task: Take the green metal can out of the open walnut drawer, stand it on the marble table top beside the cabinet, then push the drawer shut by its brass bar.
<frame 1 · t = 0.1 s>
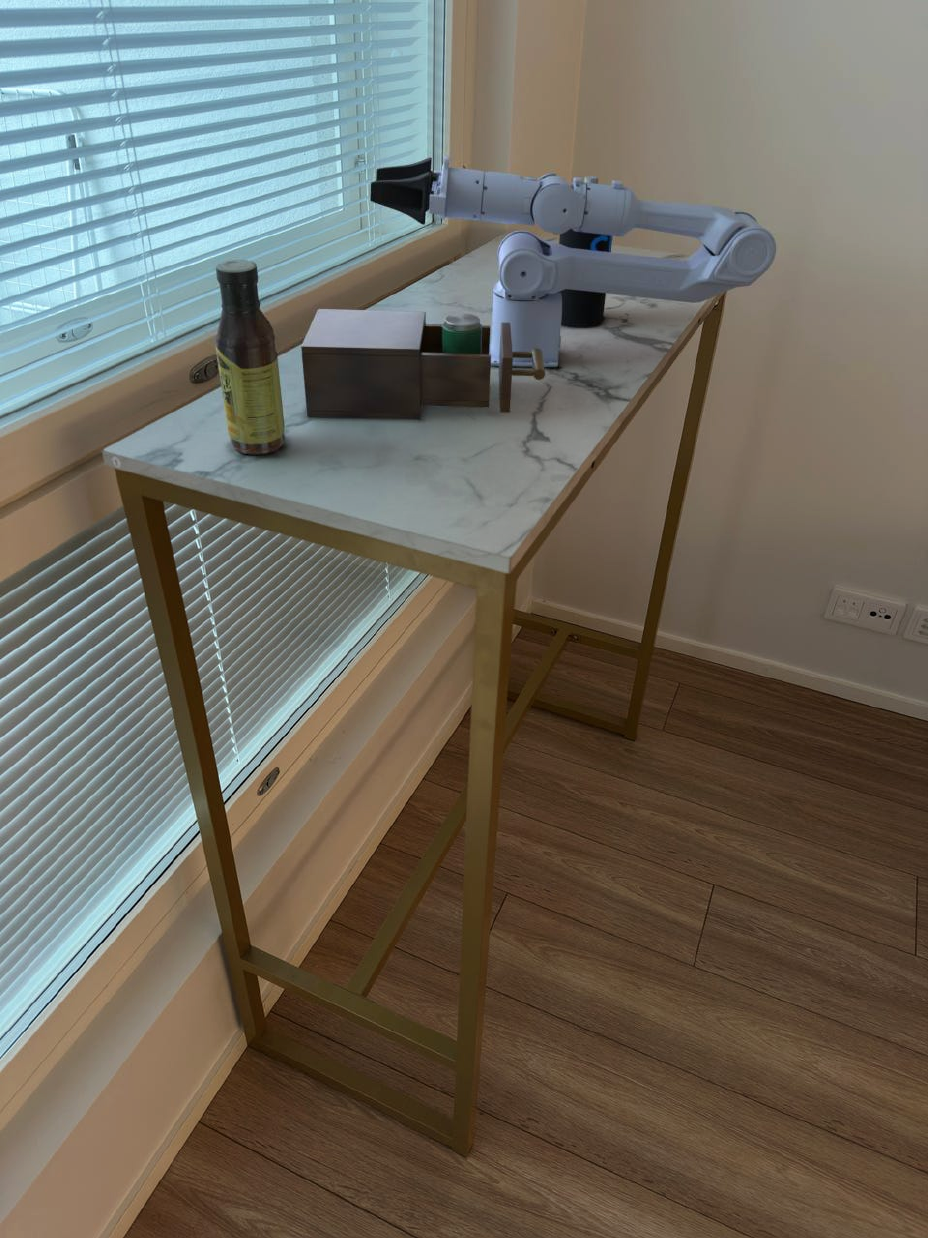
hand: (373, 184, 113), 22 cm above the table, tool horizontal, fingers open, 7 cm apart
aerosol can: (577, 320, 140), on the table
sauce bottle: (258, 447, 102), on the table
cabinet: (369, 395, 114), on the table
drawer: (476, 365, 111), point 4 cm above the table, slide at 9.5 cm, touching can
can: (461, 383, 113), point 2 cm above the table, touching drawer
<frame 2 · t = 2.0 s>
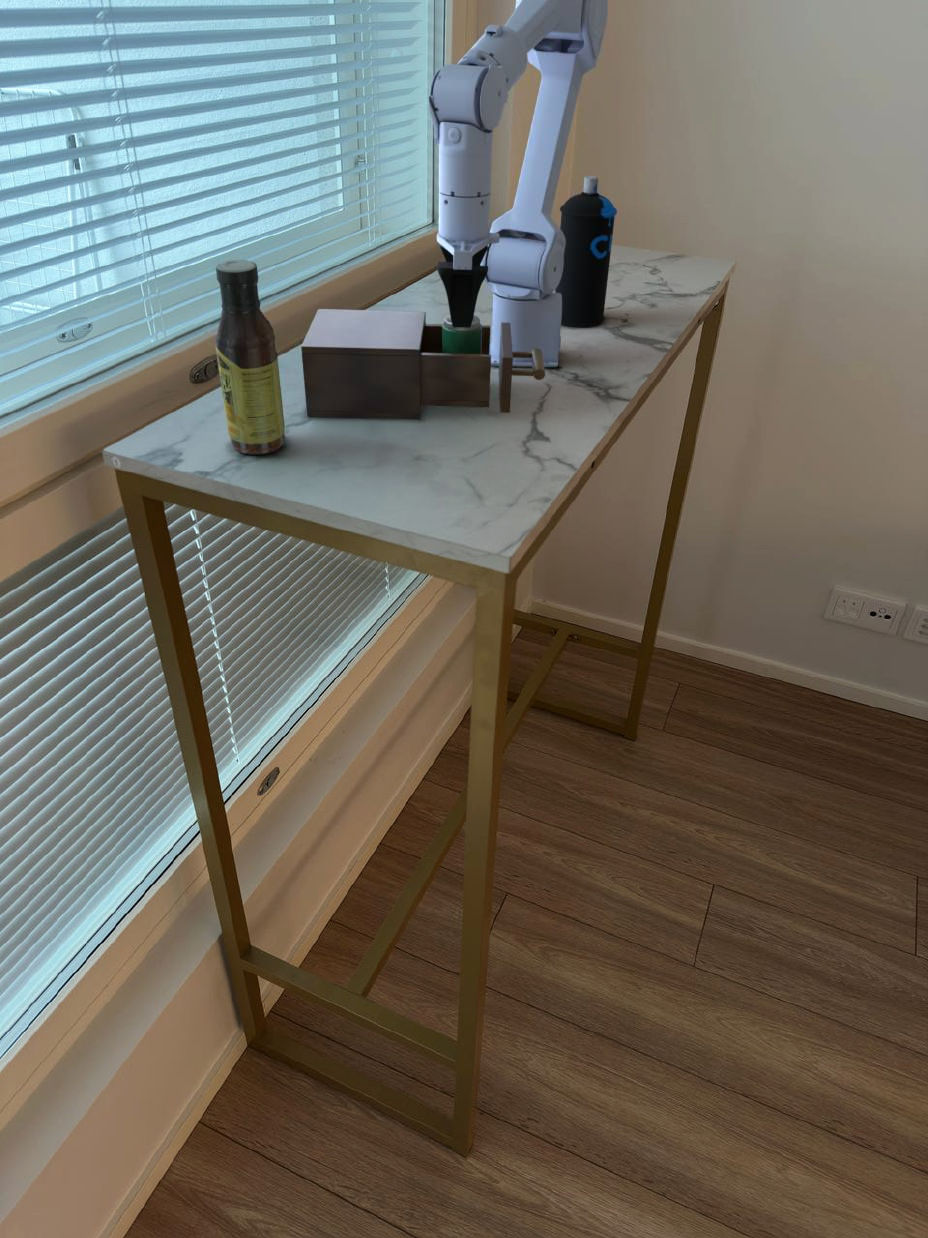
hand: (462, 315, 108), 10 cm above the table, tool pointing down, fingers open, 7 cm apart
nothing on the table moved.
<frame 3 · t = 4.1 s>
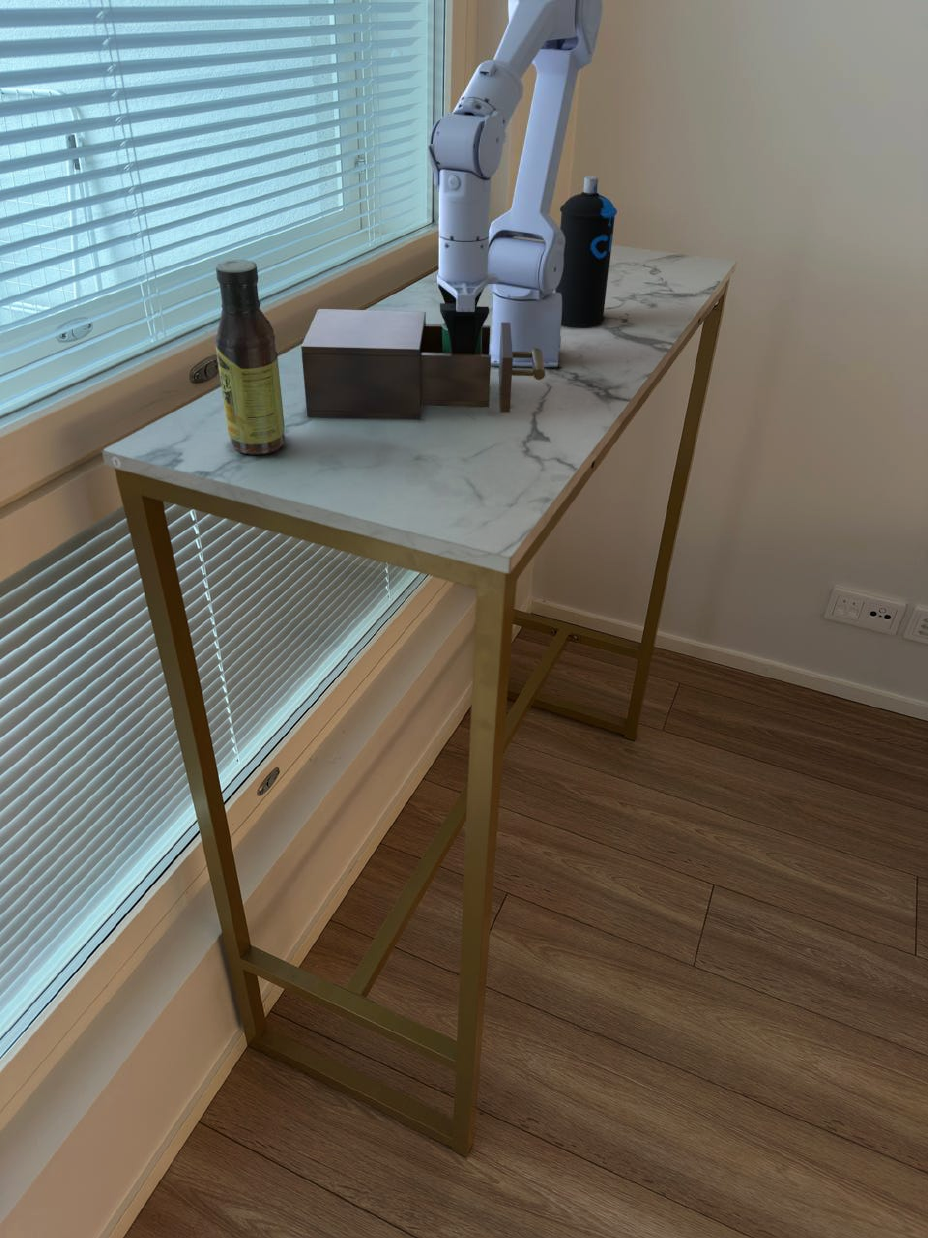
hand: (461, 352, 110), 6 cm above the table, tool pointing down, fingers open, 7 cm apart
drawer: (476, 365, 111), point 4 cm above the table, slide at 9.5 cm, touching can, gripper
everything else where it was.
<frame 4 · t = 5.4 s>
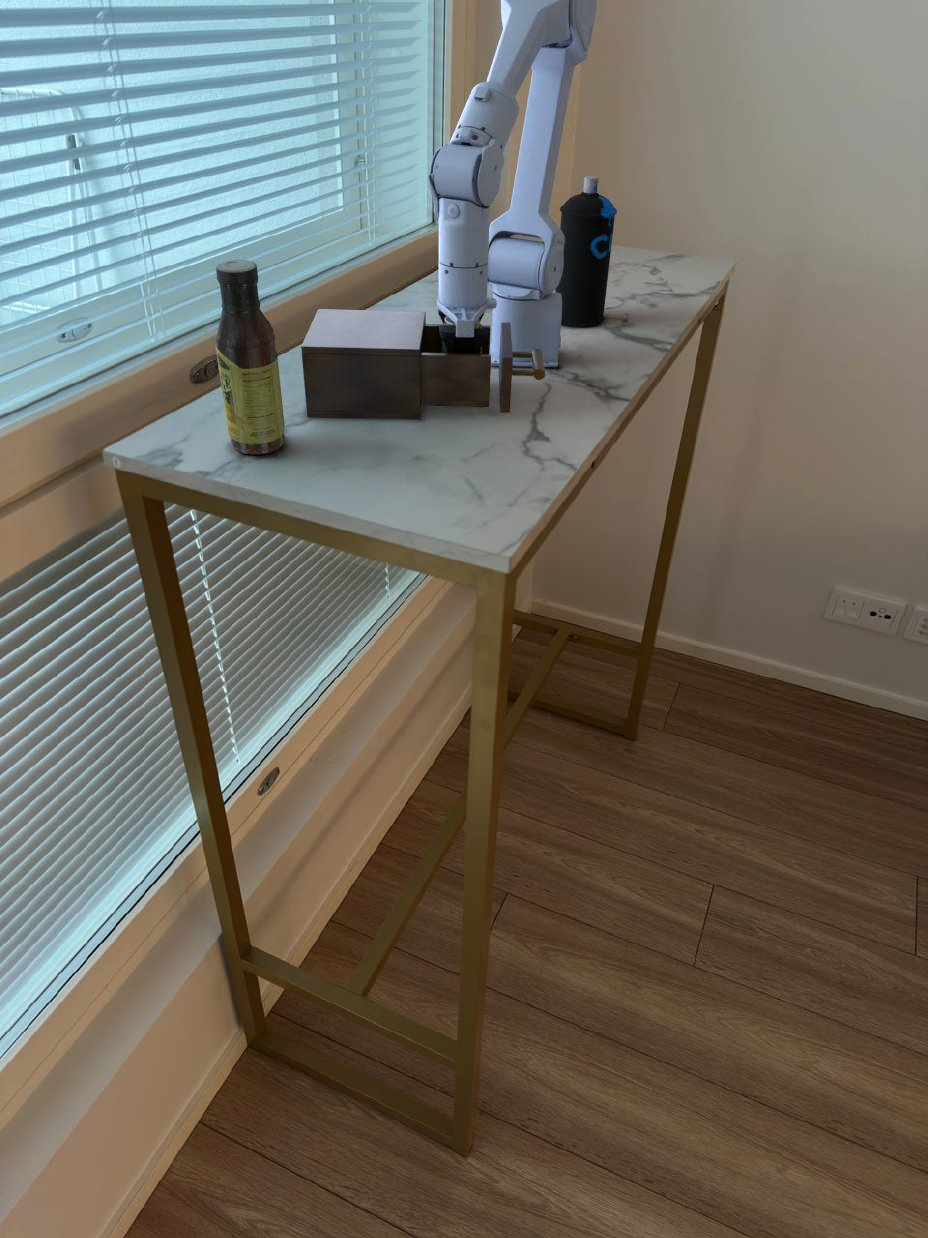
hand: (461, 375, 112), 3 cm above the table, tool pointing down, fingers open, 5 cm apart
drawer: (476, 365, 111), point 4 cm above the table, slide at 9.5 cm, touching can
everything else where it was.
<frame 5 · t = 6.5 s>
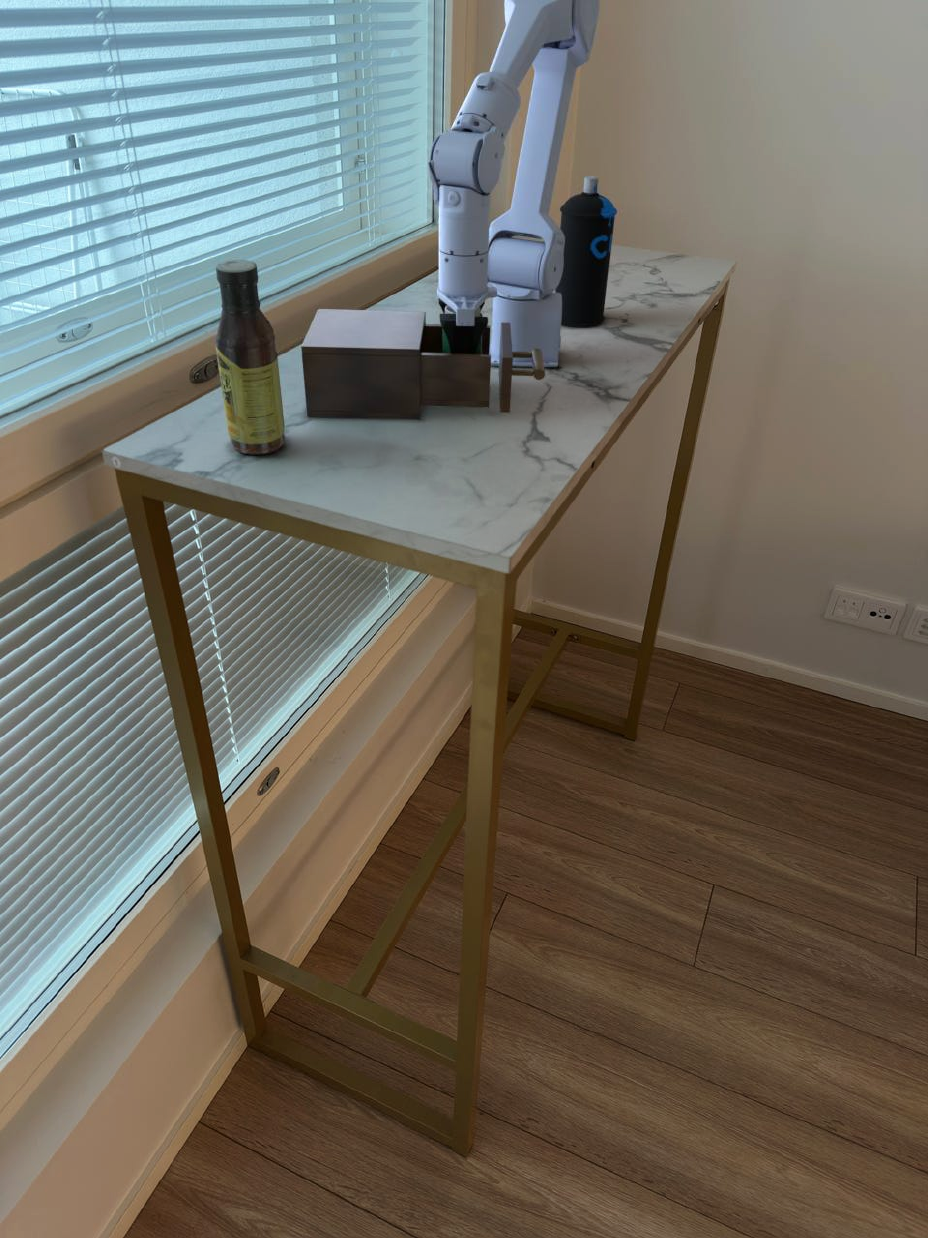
hand: (461, 365, 111), 4 cm above the table, tool pointing down, fingers closed on can, 5 cm apart
drawer: (476, 365, 111), point 4 cm above the table, slide at 9.5 cm
can: (461, 372, 112), point 3 cm above the table, touching gripper
everything else where it was.
when the fingers open (1 cm above the table, at t = 11.1 s): can stays where it is, on the table.
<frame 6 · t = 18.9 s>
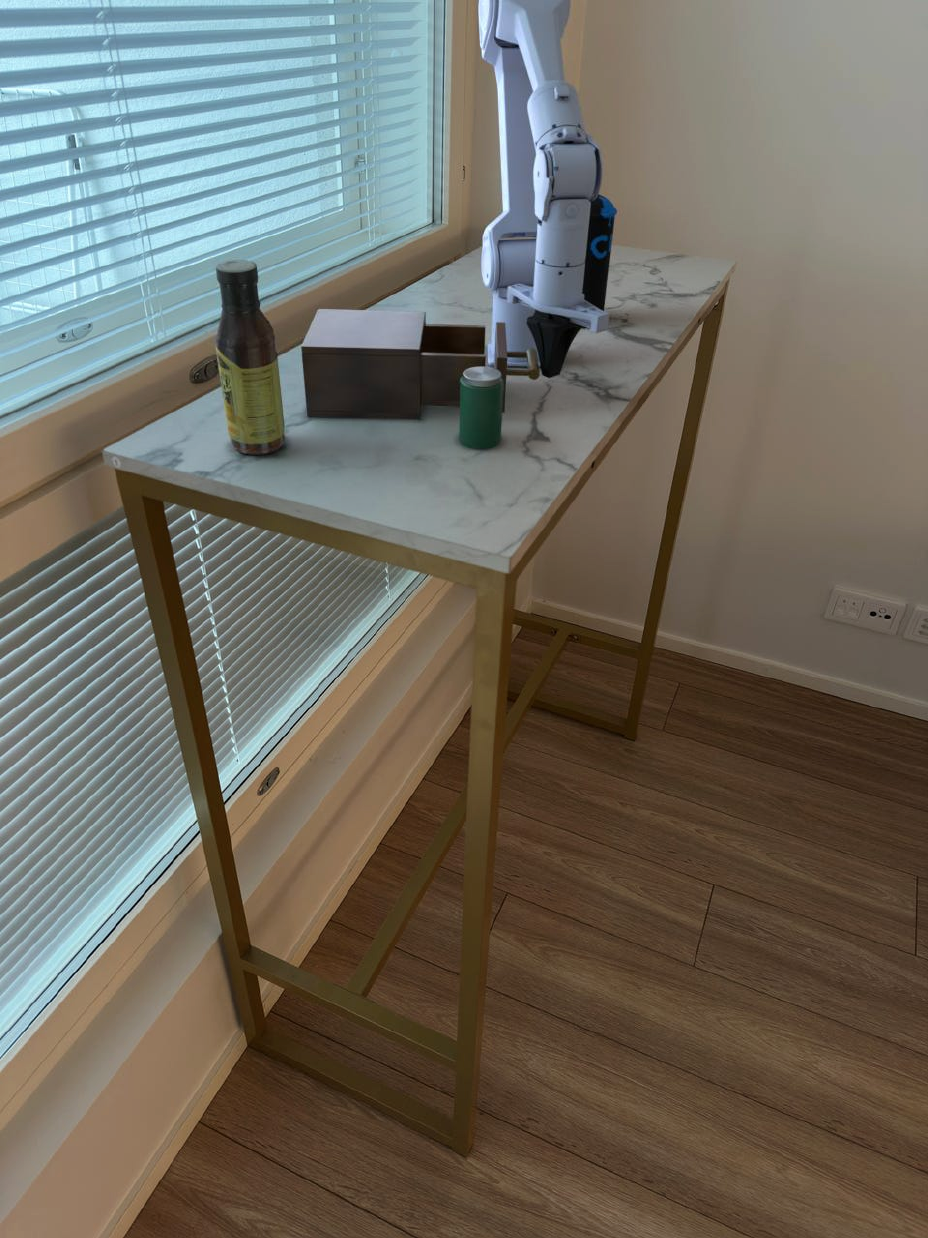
hand: (550, 374, 112), 3 cm above the table, tool pointing down, fingers closed
drawer: (470, 365, 111), point 4 cm above the table, slide at 8.9 cm, touching gripper
can: (480, 440, 104), on the table
everything else where it was.
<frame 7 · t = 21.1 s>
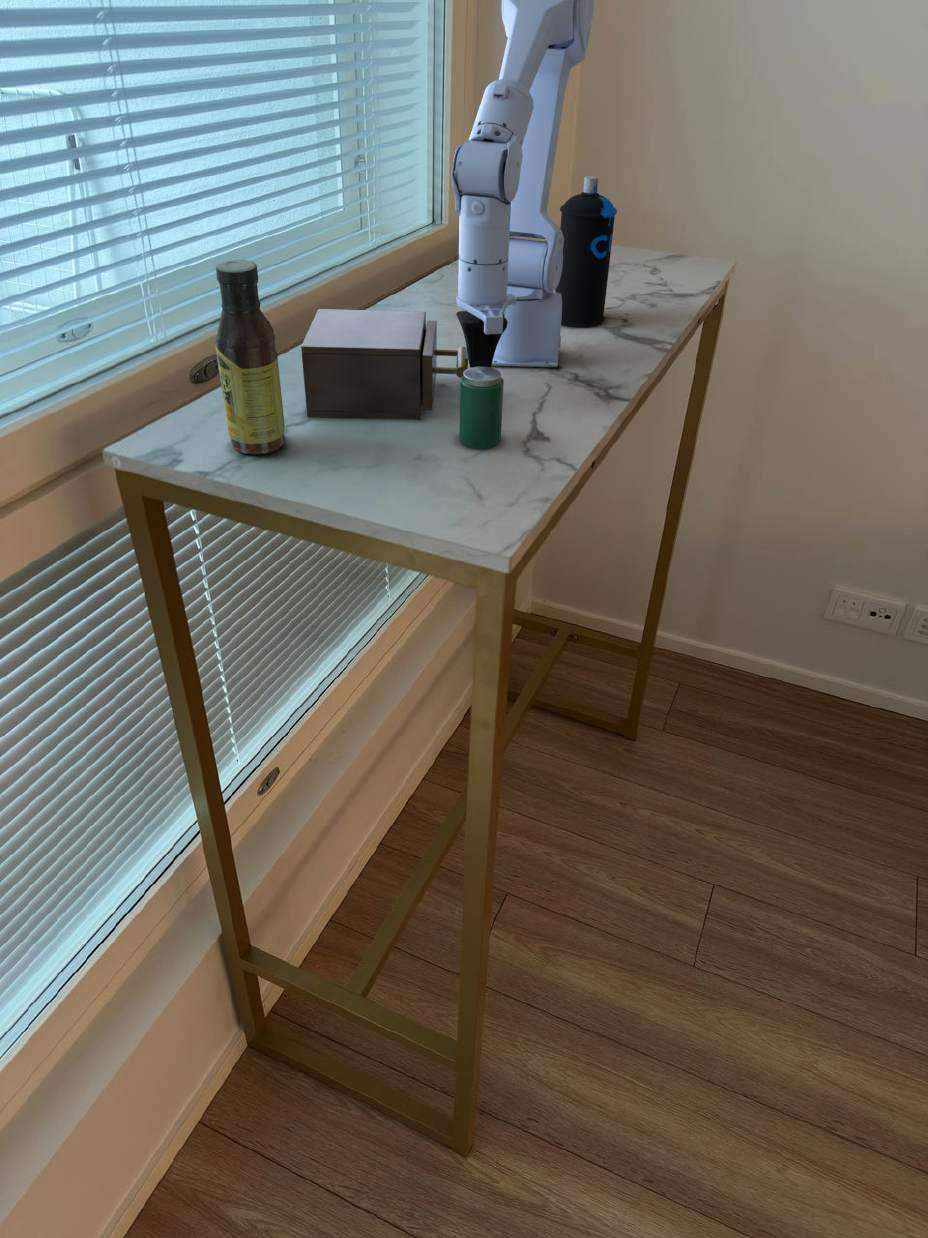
hand: (479, 372, 112), 3 cm above the table, tool pointing down, fingers closed, pressing on drawer
drawer: (400, 363, 111), point 4 cm above the table, slide at 0.2 cm, touching gripper
everything else where it was.
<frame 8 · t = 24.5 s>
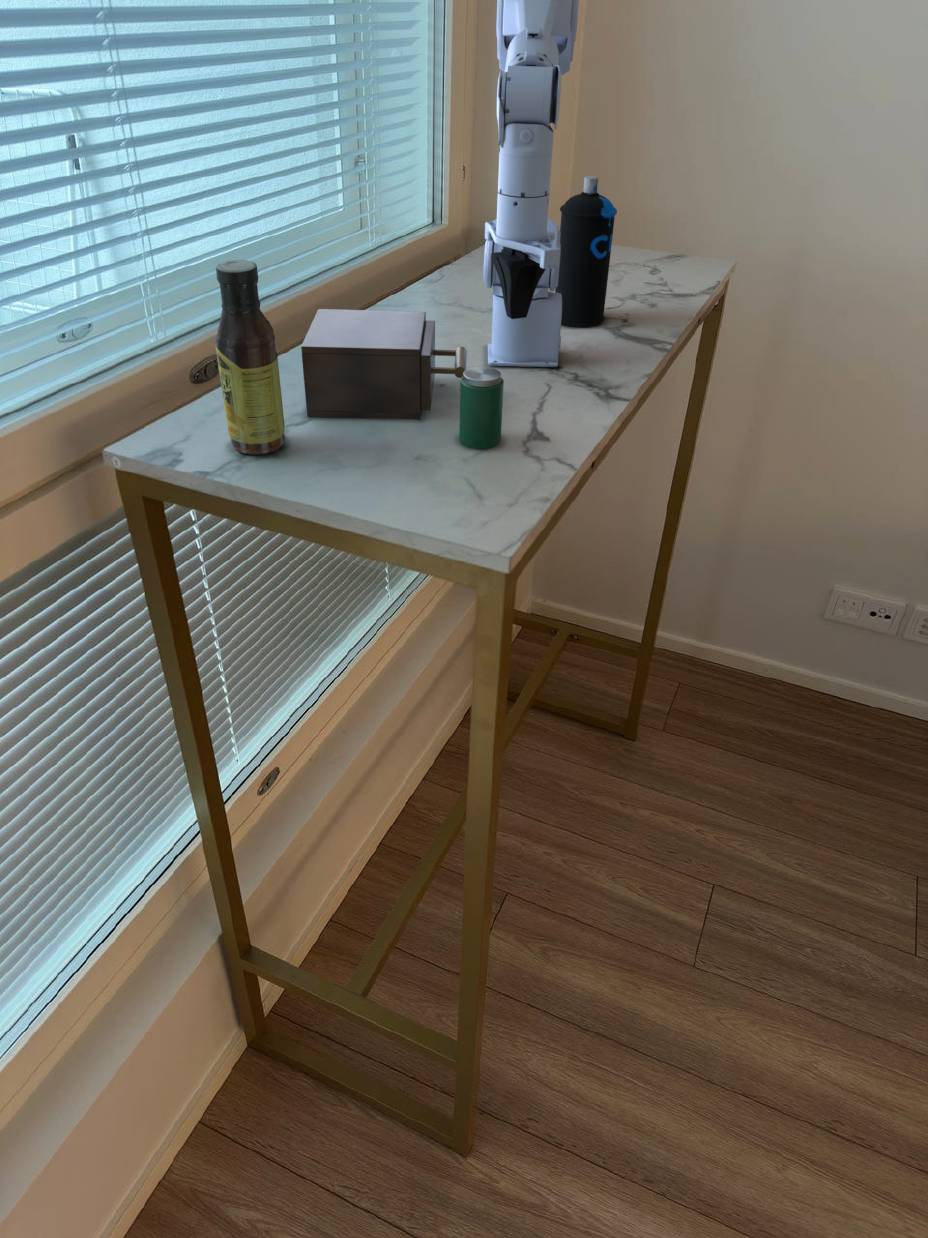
hand: (516, 316, 108), 10 cm above the table, tool pointing down, fingers closed
drawer: (398, 363, 111), point 4 cm above the table, slide at 0.0 cm, touching cabinet
everything else where it was.
at the end: can inside the target area (0.0 cm from its centre), on the table; can tilted 0°; drawer slide at 0.0 cm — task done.
